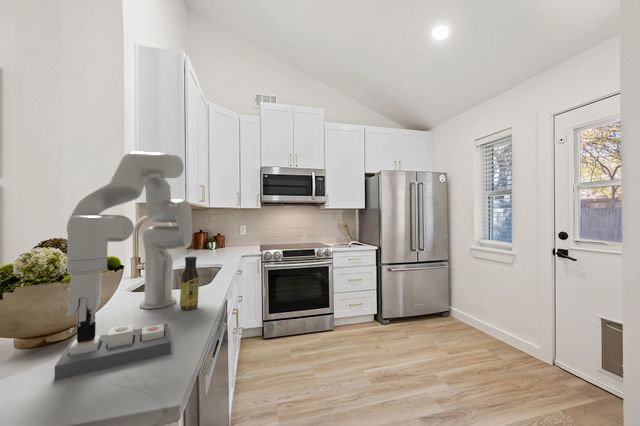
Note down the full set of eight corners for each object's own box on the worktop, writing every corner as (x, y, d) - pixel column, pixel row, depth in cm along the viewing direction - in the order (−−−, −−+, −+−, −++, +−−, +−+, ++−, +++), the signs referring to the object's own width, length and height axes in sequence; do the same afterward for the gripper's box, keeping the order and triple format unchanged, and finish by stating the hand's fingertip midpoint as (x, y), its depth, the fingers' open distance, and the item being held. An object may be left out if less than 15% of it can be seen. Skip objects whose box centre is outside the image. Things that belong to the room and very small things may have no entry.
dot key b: (74, 355, 67) (74, 339, 67) (100, 350, 69) (100, 334, 69) (69, 365, 62) (69, 347, 62) (96, 359, 65) (97, 342, 65)
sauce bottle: (190, 312, 100) (191, 258, 100) (176, 310, 101) (177, 257, 101) (201, 306, 106) (202, 256, 106) (188, 305, 107) (188, 255, 108)
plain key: (110, 343, 70) (110, 327, 70) (133, 339, 73) (133, 324, 73) (107, 351, 66) (107, 335, 66) (132, 346, 69) (132, 330, 69)
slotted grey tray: (71, 352, 70) (71, 340, 70) (168, 333, 81) (168, 323, 81) (54, 380, 58) (54, 366, 58) (170, 353, 69) (171, 341, 70)
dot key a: (142, 342, 74) (142, 327, 74) (163, 338, 77) (163, 323, 77) (141, 349, 70) (141, 334, 70) (163, 345, 73) (163, 330, 73)
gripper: (75, 262, 71) (73, 332, 70) (58, 272, 58) (56, 358, 58) (110, 259, 75) (109, 326, 74) (102, 269, 62) (100, 349, 62)
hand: (86, 339), depth 66 cm, fingers closed
